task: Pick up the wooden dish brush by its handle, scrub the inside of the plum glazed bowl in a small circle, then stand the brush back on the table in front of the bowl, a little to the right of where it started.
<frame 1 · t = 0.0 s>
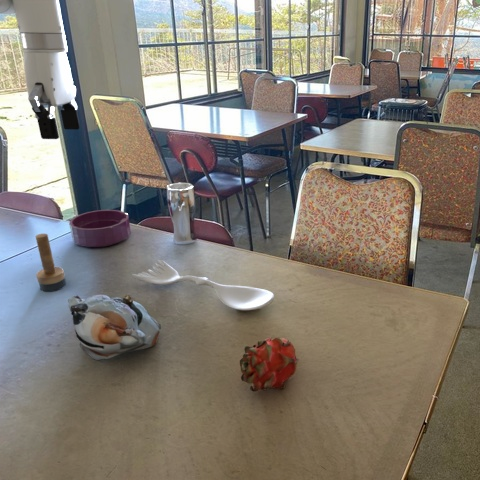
hand: (61, 133, 98), 32 cm above the table, tool pointing down, fingers open, 9 cm apart
dragon fruit: (271, 380, 78), on the table
bowl: (102, 238, 128), on the table
spoon: (205, 294, 103), on the table
dish brush: (53, 286, 104), on the table
lucky cat figurine: (121, 348, 85), on the table
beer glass: (185, 240, 128), on the table
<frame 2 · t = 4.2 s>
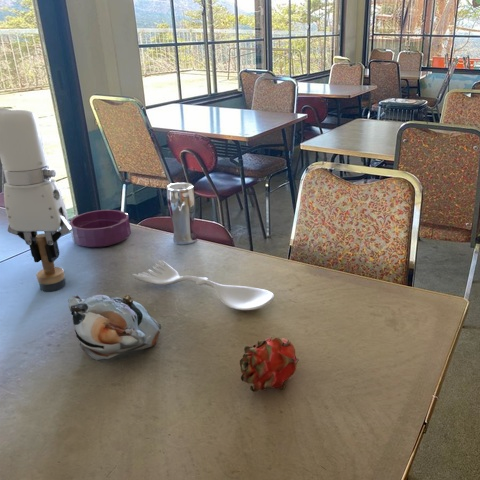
hand: (46, 259, 102), 7 cm above the table, tool pointing down, fingers closed on dish brush
dish brush: (53, 286, 104), on the table, touching gripper
everything else where it was.
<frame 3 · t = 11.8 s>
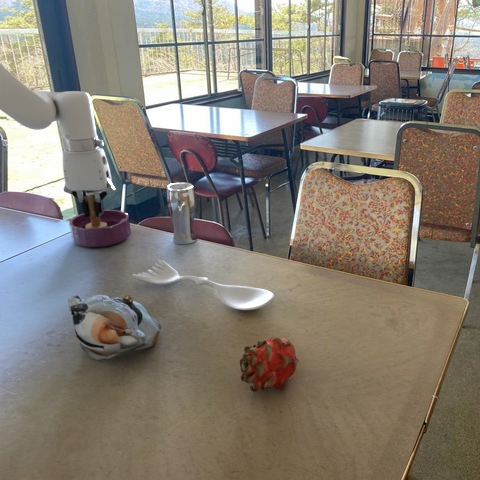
hand: (94, 214, 124), 7 cm above the table, tool pointing down, fingers closed on dish brush
dish brush: (98, 236, 127), point 1 cm above the table, touching gripper
everything else where it was.
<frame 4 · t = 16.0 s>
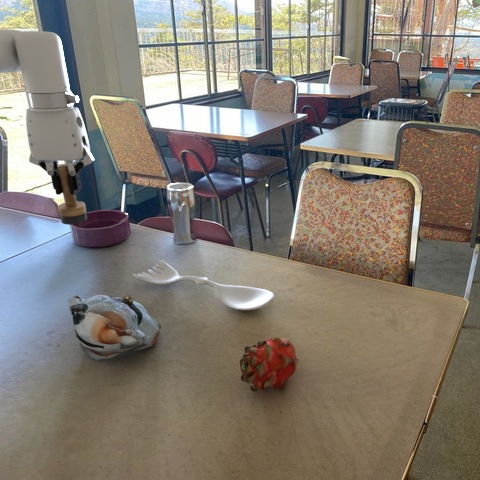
hand: (68, 191, 99), 20 cm above the table, tool pointing down, fingers closed on dish brush
dish brush: (74, 220, 102), point 14 cm above the table, touching gripper
everything else where it was.
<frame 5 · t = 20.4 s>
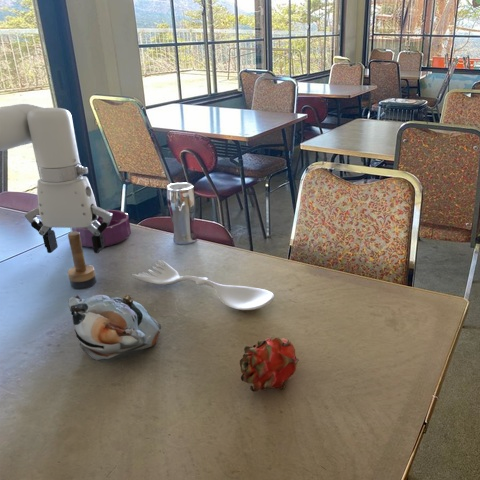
hand: (76, 250, 102), 8 cm above the table, tool pointing down, fingers open, 9 cm apart
dish brush: (83, 283, 106), on the table
everything else where it was.
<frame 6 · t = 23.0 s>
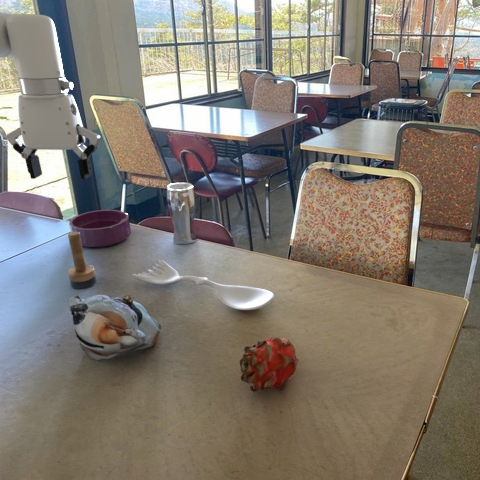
hand: (61, 177, 96), 24 cm above the table, tool pointing down, fingers open, 9 cm apart
nothing on the table moved.
at the end: dish brush inside the target area on the table beside the bowl (0.1 cm from its centre), on the table; dish brush tilted 0°; the gripper is holding nothing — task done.
